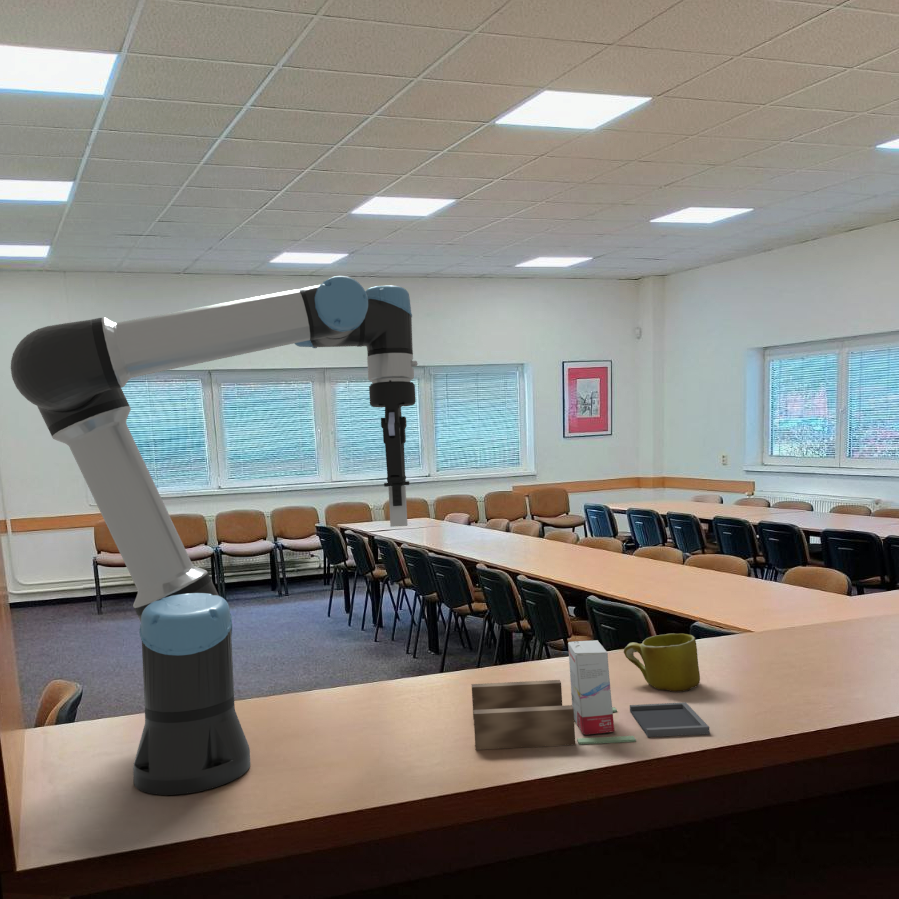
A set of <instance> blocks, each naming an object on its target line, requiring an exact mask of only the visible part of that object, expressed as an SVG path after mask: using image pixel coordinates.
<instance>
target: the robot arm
mask: <svg viewBox="0 0 899 899" xmlns="http://www.w3.org/2000/svg"><path fill="white" fill-rule="evenodd" d="M412 318H413V314H412V307H411V299H410V293H409V291H408V290H407V289H406V288H404V287H402V286H400V285H399V286H398V285H393V284H391V285H386V284H385V285H376V286H372V287H369V288H366V290H365V288H364V287H363V286H362V285H361V284H360V282H358V281H357V280H356V279H354V278H352V277H350V276H346V275H336V276H332V277H330V278H328V279H326V280H324V281H322V283H321V284H318V285H312V286H307V287H303V288H302V287H301V288H298V289H297V288H296V289H292V290H291V289H290V290H285V291H280V292H275V293H269V294H264V295H260V296H259V295H257V296H252V297H249V298H248V297H247V298H242V299H238V300H232V301H227V302H220V303H216V304H211V305H204V306H200V307H193V308H189V309H183V310H178V311H173V312H167V313H162V314H157V315H150V316H146V317H140V318H136V319H130V320H129V319H128V320H124V321H119V322H115V321H113V320H111V319H109V318H107V317H105V316H103V317H98V318H92V319H86V320H79V321H78V320H77V321H73V322H71V321H70V322H65V323H58V324H54V325H53V324H51V325H47V326H43V327H41V328H38V329H35V330H33V331H31V332H30V333H28V334H26V336H24V337H23V338H22V339H21V340H20V342H19V343H18V344H17V345H16V347H15V349H14V351H13V352H12V356H11V360H10V373H11V379H12V381H13V384H14V385H15V388H16V389H17V390H18V392H19V393H20V394H21V396H23V397H24V398H25V399H26V400H27V401H29V403H31V404H33V405H35V406H37V409H38V411H39V413H40V415H41V417H42V419H43V421H44V422H45V425H46V427H47V429H48V430H49V433H50V436H51V437H52V440H56V441H58V442H60V443H63V444H66V445H67V446H68V447H69V449H70V452H71V453H72V455H73V457H74V459H75V462H76V464H77V466H78V468H79V470H80V473H81V475H82V476H83V479H84V480H85V483H86V485H87V487H88V489H89V491H90V493H91V495H92V497H93V499H94V501H95V502H94V503H95V504H96V506H97V507H98V511H99V512H100V513H101V514H100V515H101V516H102V518H103V521H104V522H105V524H106V526H107V528H108V530H109V534H110V535H111V537H112V539H113V541H114V544H115V546H116V548H117V549H118V552H119V554H120V556H121V558H122V561H123V562H124V564H125V567H126V569H127V570H128V572H129V575H130V576H131V579H132V581H133V583H134V586H135V588H136V589H137V594H136V597H135V599H134V602H133V605H132V607H133V608H134V610H135V613H136V615H137V618H139V621H140V625H139V629H138V630H139V637H140V639H141V652H142V656H141V657H142V678H143V701H144V702H143V703H144V704H143V705H144V726H143V729H142V732H141V737H140V741H139V743H138V748H137V750H136V755H135V758H134V760H133V767H132V770H133V771H132V773H133V774H132V775H133V784H134V787H135V788H137V790H139V791H141V792H143V793H148V794H151V795H166V796H169V795H171V796H172V795H185V794H192V793H197V792H202V791H207V790H210V789H214V788H217V787H220V786H223V785H225V784H228V783H231V782H233V781H235V780H237V779H239V778H240V777H241V776H243V775H244V774H245V773H247V771H249V769H250V767H251V748H250V746H249V742H248V740H247V737H246V734H245V732H244V730H243V727H242V724H241V723H240V720H239V717H238V715H237V712H236V707H235V705H236V704H235V690H234V688H235V686H234V668H233V667H234V666H233V644H232V640H233V639H232V636H233V635H232V634H233V616H232V614H231V610H230V605H229V603H228V601H227V600H226V599H225V598H224V597H222V596H221V595H219V593H218V592H217V589H216V586H215V584H214V583H213V580H212V578H211V577H210V574H209V573H208V572H209V571H207V570H206V569H203V568H201V567H199V566H195V565H194V564H193V562H192V560H191V558H190V556H189V554H188V552H187V550H186V547H185V546H184V543H183V541H182V539H181V537H180V535H179V533H178V531H177V529H176V526H175V525H174V522H173V521H172V518H171V516H170V514H169V512H168V510H167V507H166V506H165V503H164V501H163V498H162V497H161V494H160V493H159V490H158V488H157V486H156V484H155V482H154V480H153V477H152V476H151V473H150V471H149V469H148V467H147V464H146V463H145V460H144V458H143V457H142V455H141V451H140V449H139V447H138V446H137V443H136V441H135V439H134V437H133V435H132V433H131V430H130V428H129V426H128V424H127V420H128V416H129V414H130V412H131V410H132V409H131V408H132V407H131V406H130V403H129V402H128V400H127V397H126V395H125V392H124V391H123V388H124V387H125V386H126V384H127V383H128V382H129V380H130V379H131V378H132V379H133V378H136V377H141V376H146V375H151V374H156V373H161V372H165V371H168V370H175V369H178V368H179V369H180V368H184V367H188V366H193V365H198V364H203V363H206V362H212V361H217V360H221V359H227V358H232V357H235V356H236V357H237V356H242V355H246V354H250V353H255V352H256V353H257V352H259V351H264V350H268V349H269V350H270V349H274V348H279V347H282V346H288V345H293V344H294V345H295V346H297V347H301V348H312V349H317V348H340V347H341V348H343V347H346V348H347V347H366V350H367V357H366V360H367V377H368V378H367V379H368V381H370V382H371V384H369V386H368V392H369V394H368V395H369V405H370V406H371V407H373V408H378V409H379V408H384V417H380V427H381V429H382V440H383V441H382V442H383V443H384V447H385V448H384V450H385V463H386V475H387V477H386V481H387V482H384V483H383V486H384V488H386V487H388V503H389V504H388V505H389V526H390V527H391V528H392V527H395V528H396V527H407V526H408V525H409V524H408V510H407V508H408V507H407V506H408V505H407V488H406V487H407V486H409V485H410V481H409V480H406V479H407V476H406V464H405V444H406V440H407V439H406V438H407V437H406V429H407V417H406V416H402V407H411V406H414V405H415V404H416V403H417V402H416V401H417V400H416V388H415V387H416V384H414V382H413V381H412V380H414V378H415V369H414V368H413V367H417V366H418V361H417V360H414V355H413V354H414V353H413V352H414V351H413V329H412V328H413V327H412V326H413V325H412V323H413V322H412V320H413V319H412Z"/></svg>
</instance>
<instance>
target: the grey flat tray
mask: <svg viewBox="0 0 899 899" xmlns="http://www.w3.org/2000/svg"><path fill="white" fill-rule="evenodd" d="M694 710H695V709H693V708H692V707H691V706H690V705H689V704H688V703H687V702H683V701H681V702H667V703H665V702H663V703H648V704H647V703H646V704H645V703H644V704H630V705H629V713H630V714H631V715H632V716H633V718H634V720H635V721H636V722H637V724H638V726H639V727H640V728H641V730H642V731H643V732H644V734H645V735H646V738H655V737H656V738H659V737H675V736H677V737H678V736H695V735H696V736H697V735H711V734H710V726H709V725H708V724H707V723H706V722H705V721H704V720H703V719H702V717H700V715H699V714H698V713H697V712H696V711H694Z"/></svg>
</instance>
